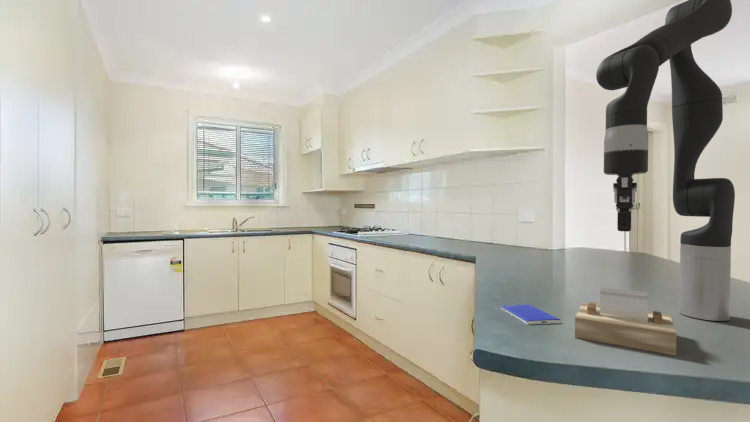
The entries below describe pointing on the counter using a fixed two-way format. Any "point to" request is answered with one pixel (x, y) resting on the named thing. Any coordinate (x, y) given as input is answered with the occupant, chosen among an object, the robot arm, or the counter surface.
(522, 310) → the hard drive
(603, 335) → the drive stand
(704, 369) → the counter surface
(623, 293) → the panel
